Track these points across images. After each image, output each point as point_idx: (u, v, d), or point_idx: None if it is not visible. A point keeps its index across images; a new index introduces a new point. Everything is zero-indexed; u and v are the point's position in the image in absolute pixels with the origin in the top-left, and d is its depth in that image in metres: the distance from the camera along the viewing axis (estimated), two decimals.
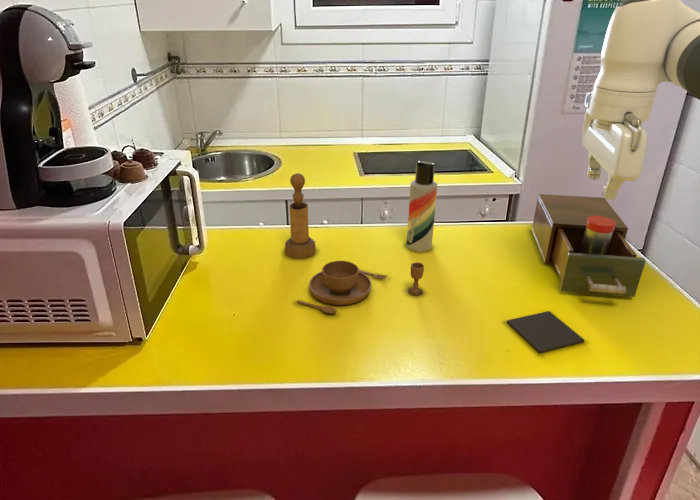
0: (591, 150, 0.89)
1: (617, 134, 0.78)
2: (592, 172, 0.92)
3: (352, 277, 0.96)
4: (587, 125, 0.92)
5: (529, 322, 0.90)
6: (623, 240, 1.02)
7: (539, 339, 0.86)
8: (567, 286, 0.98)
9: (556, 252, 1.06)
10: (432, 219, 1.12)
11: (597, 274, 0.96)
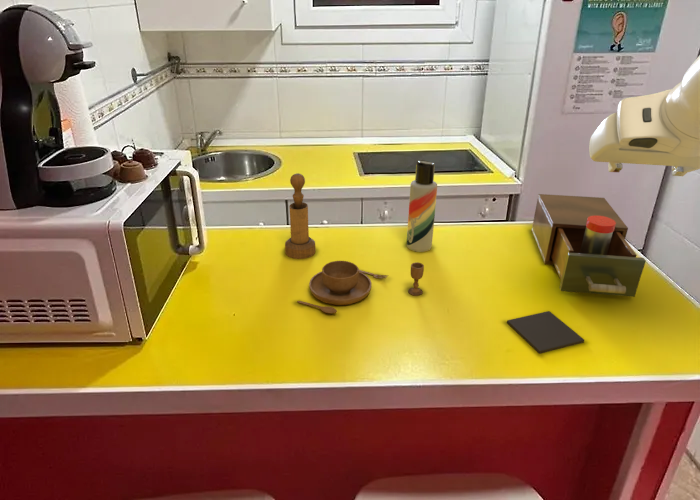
0: (641, 162, 0.76)
1: None
2: None
3: (352, 277, 0.96)
4: (611, 150, 0.74)
5: (529, 322, 0.90)
6: (623, 240, 1.02)
7: (539, 339, 0.86)
8: (567, 286, 0.98)
9: (556, 252, 1.06)
10: (432, 219, 1.12)
11: (597, 274, 0.96)
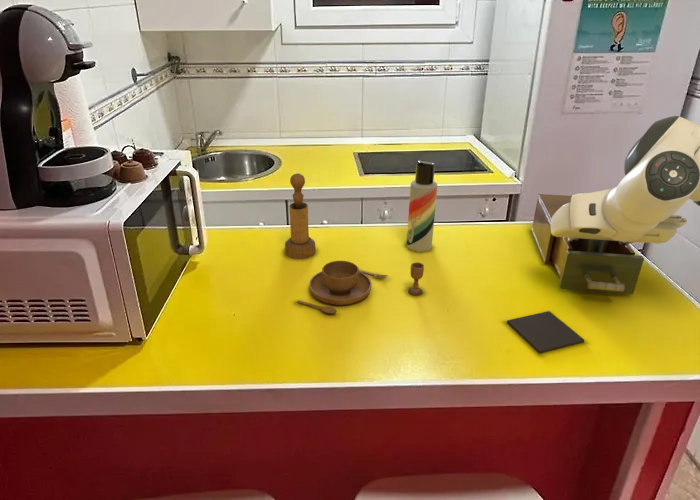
0: (591, 238, 0.95)
1: (663, 232, 0.89)
2: (576, 238, 1.00)
3: (352, 277, 0.96)
4: (567, 231, 0.93)
5: (529, 322, 0.90)
6: None
7: (539, 339, 0.86)
8: (566, 283, 0.99)
9: (555, 250, 1.07)
10: (432, 219, 1.12)
11: (596, 271, 0.97)
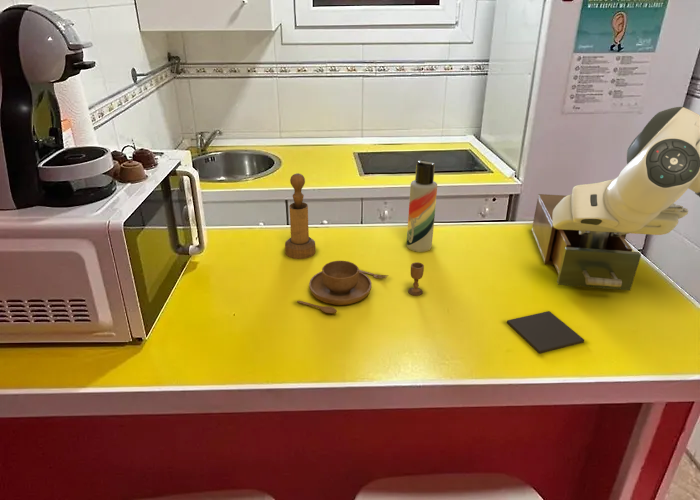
0: (593, 230, 0.95)
1: (665, 222, 0.89)
2: None
3: (352, 277, 0.96)
4: (568, 223, 0.93)
5: (529, 322, 0.90)
6: None
7: (539, 339, 0.86)
8: (564, 279, 1.00)
9: (554, 247, 1.08)
10: (432, 219, 1.12)
11: (593, 268, 0.98)
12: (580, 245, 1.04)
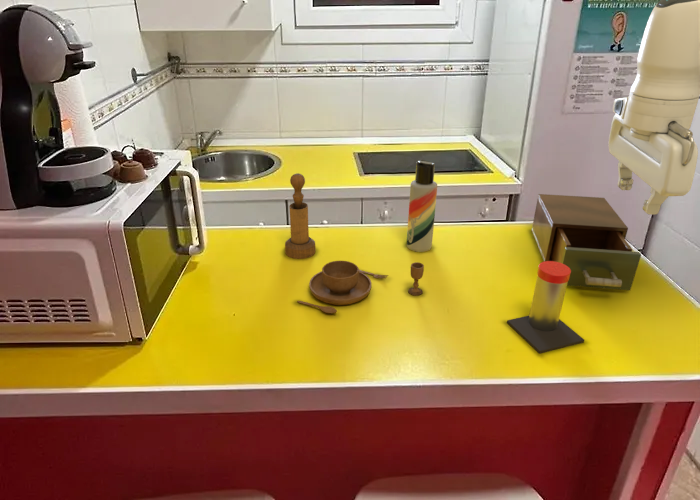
0: (625, 160, 0.83)
1: (664, 146, 0.72)
2: (624, 182, 0.86)
3: (352, 277, 0.96)
4: (615, 132, 0.86)
5: None
6: (619, 235, 1.04)
7: (539, 339, 0.86)
8: None
9: (554, 247, 1.08)
10: (432, 219, 1.12)
11: (593, 268, 0.98)
12: (531, 305, 0.89)
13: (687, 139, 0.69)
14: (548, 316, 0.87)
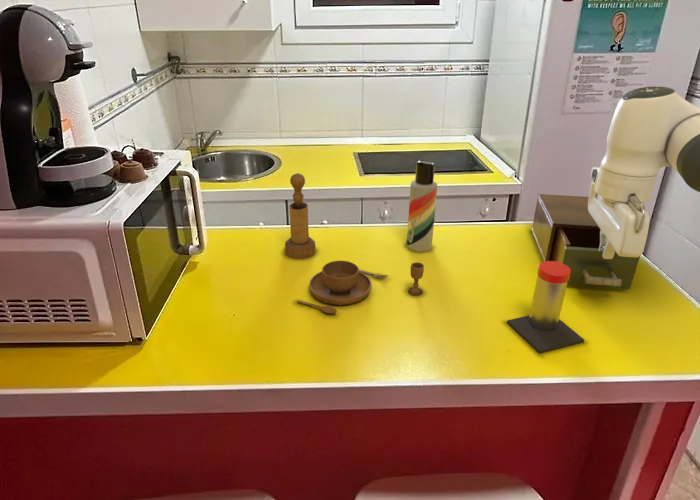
0: (597, 220, 0.96)
1: (622, 214, 0.85)
2: None
3: (352, 277, 0.96)
4: (593, 195, 0.99)
5: None
6: None
7: (539, 339, 0.86)
8: None
9: (553, 246, 1.09)
10: (432, 219, 1.12)
11: (593, 267, 0.99)
12: (531, 305, 0.89)
13: (640, 211, 0.82)
14: (548, 316, 0.87)
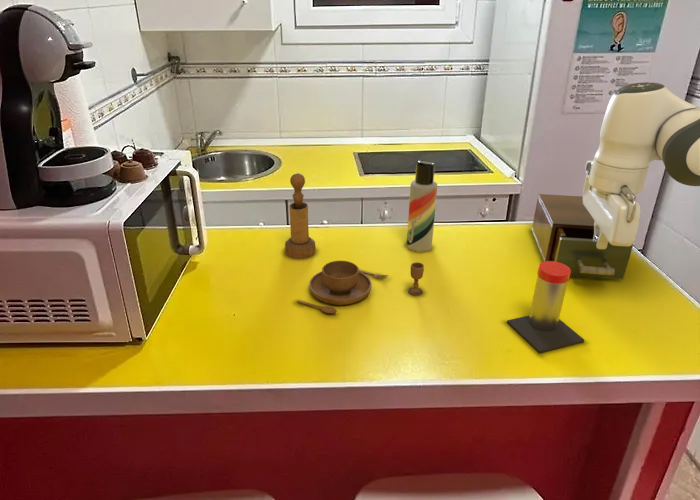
0: (591, 212, 0.99)
1: (614, 205, 0.88)
2: None
3: (352, 277, 0.96)
4: (587, 188, 1.03)
5: None
6: None
7: (539, 339, 0.86)
8: None
9: None
10: (432, 219, 1.12)
11: (587, 257, 1.02)
12: (531, 305, 0.89)
13: (631, 201, 0.86)
14: (548, 316, 0.87)
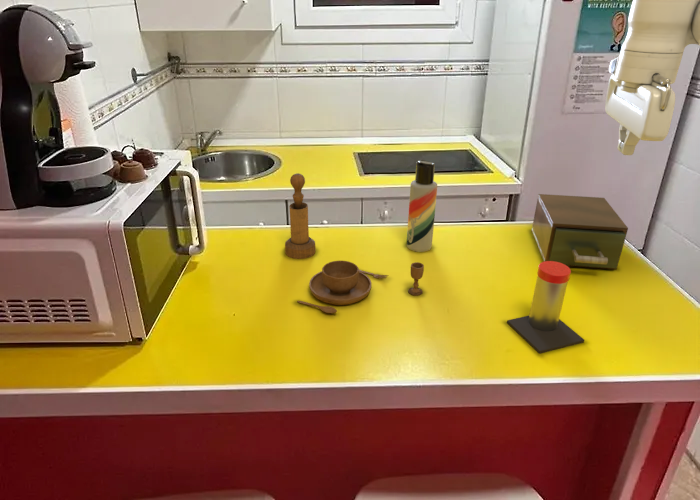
0: (616, 115, 0.90)
1: (645, 94, 0.79)
2: None
3: (352, 277, 0.96)
4: (611, 92, 0.93)
5: None
6: None
7: (539, 339, 0.86)
8: (555, 258, 1.08)
9: None
10: (432, 219, 1.12)
11: (582, 247, 1.06)
12: (531, 305, 0.89)
13: (665, 86, 0.76)
14: (548, 316, 0.87)
